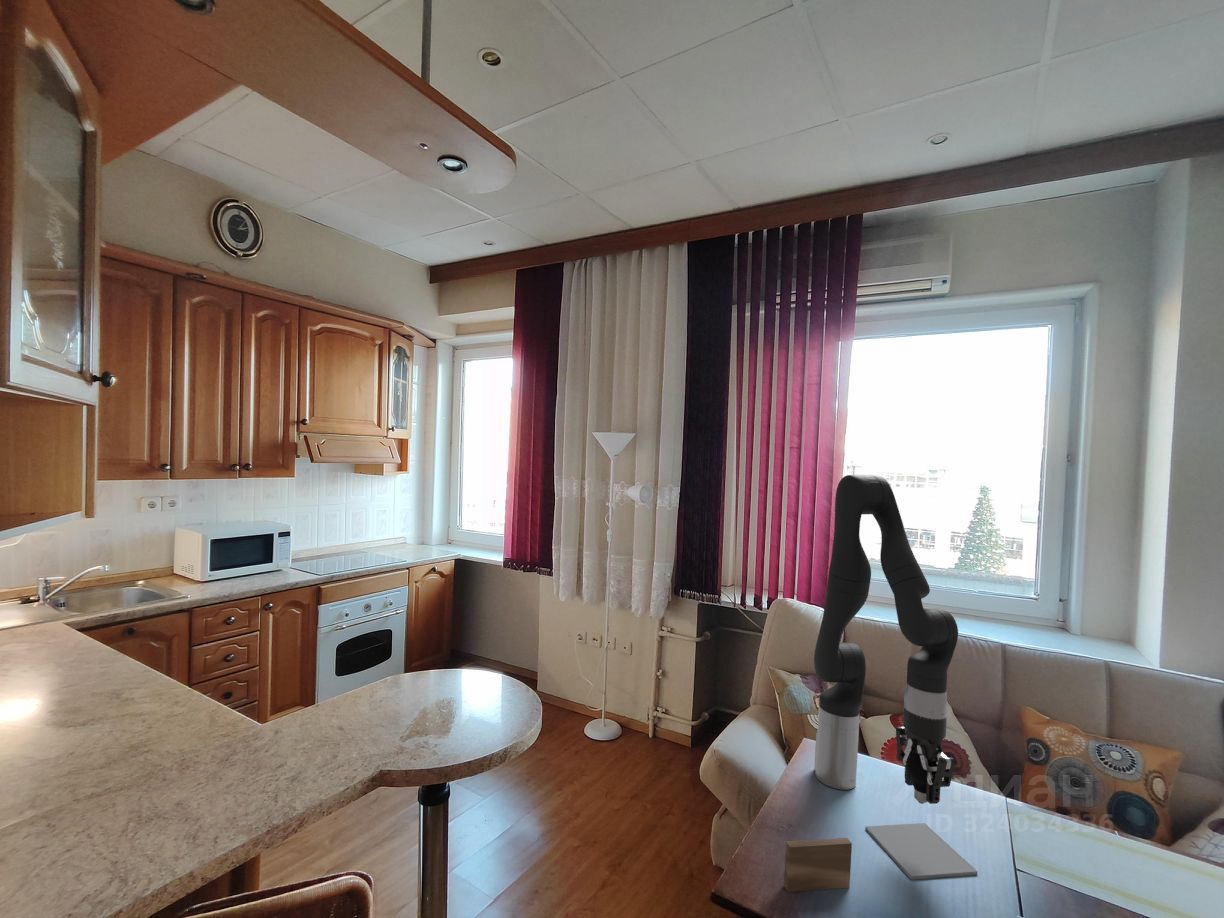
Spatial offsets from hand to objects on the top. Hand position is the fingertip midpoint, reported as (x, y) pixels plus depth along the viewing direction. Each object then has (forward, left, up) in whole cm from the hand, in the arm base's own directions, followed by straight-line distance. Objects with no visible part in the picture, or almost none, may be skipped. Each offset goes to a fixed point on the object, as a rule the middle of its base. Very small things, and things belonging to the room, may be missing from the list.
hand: (921, 792), depth 111 cm
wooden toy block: (+7, -26, -12) cm, 29 cm away
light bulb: (0, 0, -2) cm, 2 cm away
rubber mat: (0, 0, -12) cm, 12 cm away
